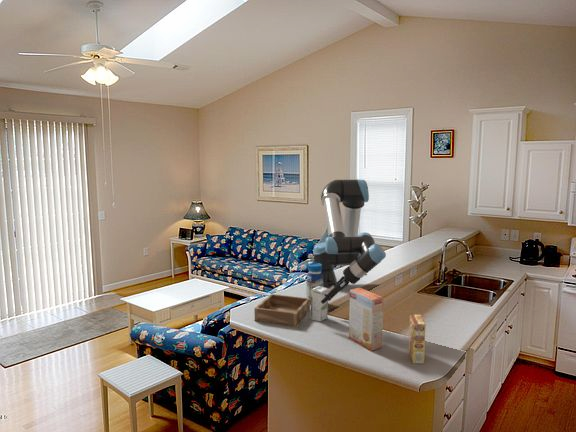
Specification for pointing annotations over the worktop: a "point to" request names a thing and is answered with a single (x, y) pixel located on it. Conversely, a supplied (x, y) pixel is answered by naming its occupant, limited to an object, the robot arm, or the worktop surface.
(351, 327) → the cracker box
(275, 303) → the crate
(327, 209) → the robot arm
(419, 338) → the candy box
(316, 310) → the syrup box
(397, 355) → the worktop surface
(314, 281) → the beverage bottle
